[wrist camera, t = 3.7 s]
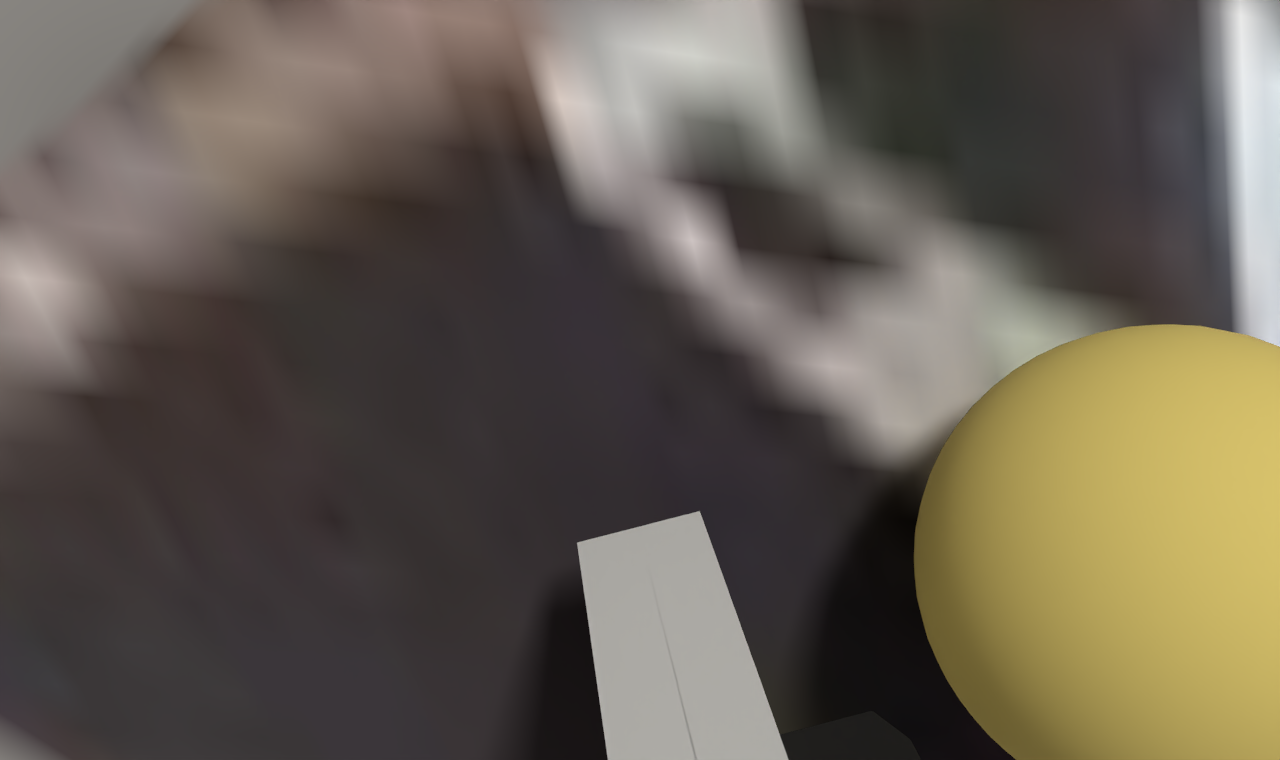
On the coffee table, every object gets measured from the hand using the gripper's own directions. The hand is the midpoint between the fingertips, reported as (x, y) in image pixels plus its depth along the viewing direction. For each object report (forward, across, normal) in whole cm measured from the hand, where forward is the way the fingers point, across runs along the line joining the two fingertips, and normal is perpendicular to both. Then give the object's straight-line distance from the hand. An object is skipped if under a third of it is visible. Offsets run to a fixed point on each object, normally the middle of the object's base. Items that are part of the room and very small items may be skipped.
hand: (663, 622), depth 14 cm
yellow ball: (-1, +6, 0) cm, 6 cm away
